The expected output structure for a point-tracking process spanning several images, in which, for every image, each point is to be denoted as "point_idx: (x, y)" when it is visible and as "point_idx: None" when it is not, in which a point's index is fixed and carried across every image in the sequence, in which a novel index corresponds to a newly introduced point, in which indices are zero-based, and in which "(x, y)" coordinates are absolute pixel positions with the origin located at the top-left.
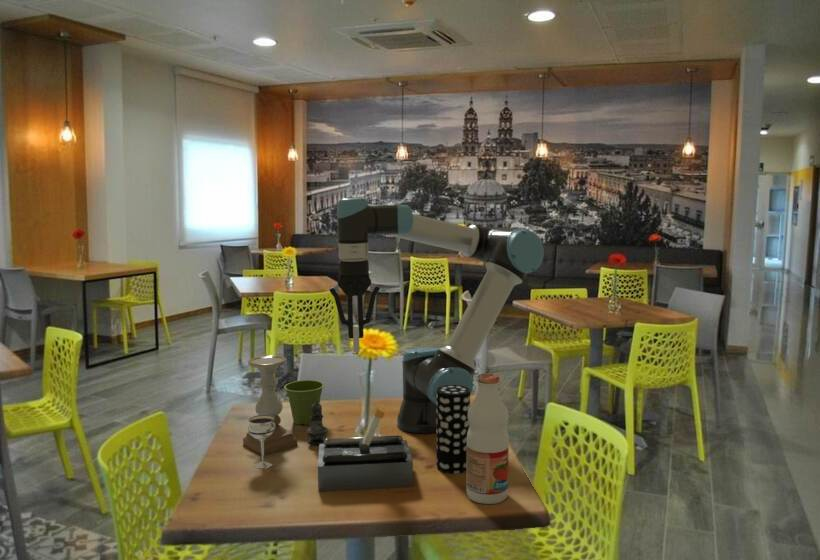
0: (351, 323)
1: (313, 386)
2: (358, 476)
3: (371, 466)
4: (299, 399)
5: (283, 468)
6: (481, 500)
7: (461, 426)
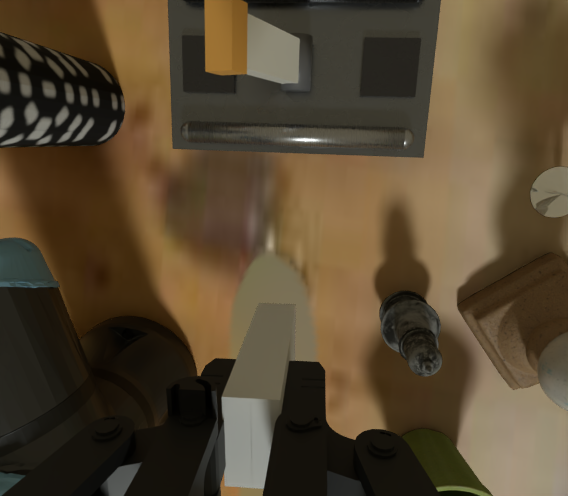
0: (291, 428)
1: None
2: None
3: None
4: (463, 474)
5: (505, 159)
6: None
7: None
